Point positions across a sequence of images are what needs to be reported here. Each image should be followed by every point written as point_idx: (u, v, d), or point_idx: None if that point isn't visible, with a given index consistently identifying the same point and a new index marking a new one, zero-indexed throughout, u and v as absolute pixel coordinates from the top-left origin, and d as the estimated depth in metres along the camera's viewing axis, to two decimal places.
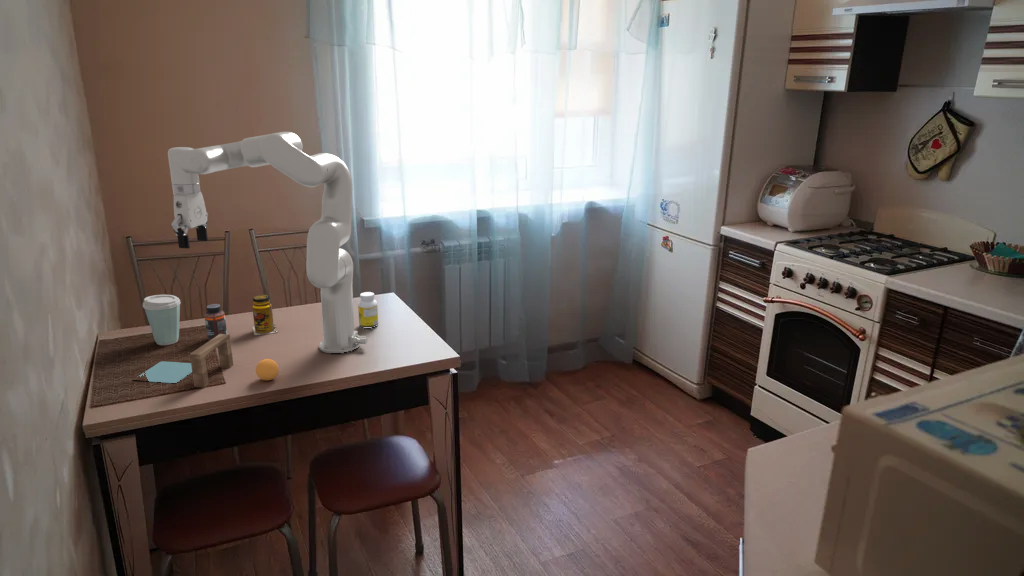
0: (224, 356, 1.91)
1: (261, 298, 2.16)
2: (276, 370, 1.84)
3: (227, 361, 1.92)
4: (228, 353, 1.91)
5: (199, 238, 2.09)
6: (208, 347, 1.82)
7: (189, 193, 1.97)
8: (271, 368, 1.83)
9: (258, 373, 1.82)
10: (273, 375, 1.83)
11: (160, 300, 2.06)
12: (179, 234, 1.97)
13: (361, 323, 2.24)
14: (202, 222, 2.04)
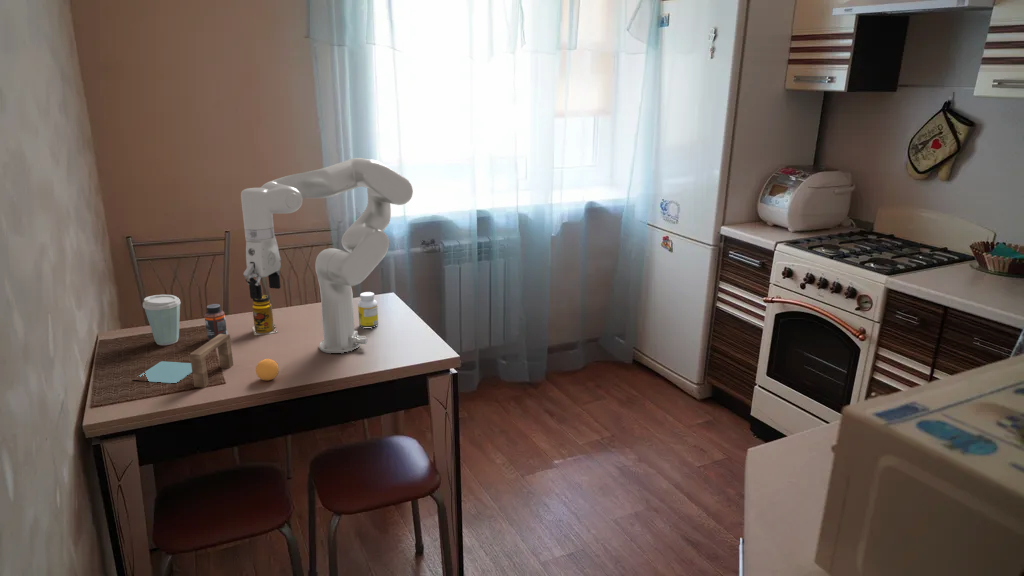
0: (224, 356, 1.91)
1: None
2: (276, 370, 1.84)
3: (227, 361, 1.92)
4: (228, 353, 1.91)
5: (271, 285, 1.90)
6: (208, 347, 1.82)
7: (263, 239, 1.78)
8: (271, 368, 1.83)
9: (258, 373, 1.82)
10: (273, 375, 1.83)
11: (160, 300, 2.06)
12: (251, 284, 1.79)
13: (361, 323, 2.24)
14: (275, 269, 1.85)
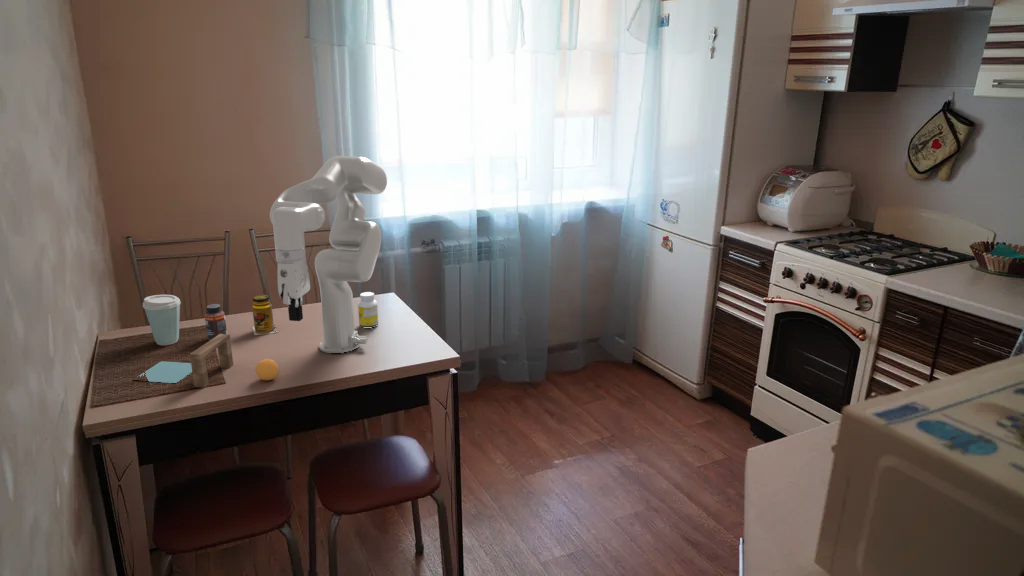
0: (224, 356, 1.91)
1: (261, 298, 2.16)
2: (276, 370, 1.84)
3: (227, 361, 1.92)
4: (228, 353, 1.91)
5: None
6: (208, 347, 1.82)
7: (295, 260, 1.72)
8: (271, 368, 1.83)
9: (258, 373, 1.82)
10: (273, 375, 1.83)
11: (160, 300, 2.06)
12: (291, 306, 1.76)
13: (361, 323, 2.24)
14: (306, 290, 1.78)
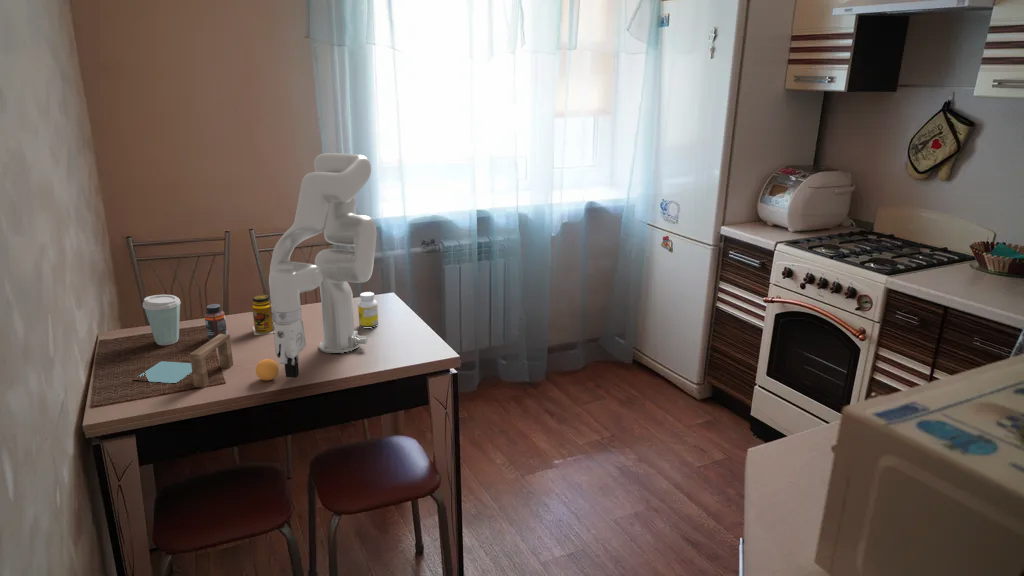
0: (224, 356, 1.91)
1: (261, 298, 2.16)
2: (276, 370, 1.84)
3: (227, 361, 1.92)
4: (228, 353, 1.91)
5: None
6: (208, 347, 1.82)
7: (292, 321, 1.77)
8: (271, 368, 1.83)
9: (258, 373, 1.82)
10: (273, 375, 1.83)
11: (160, 300, 2.06)
12: (288, 364, 1.82)
13: (361, 323, 2.24)
14: (302, 348, 1.84)
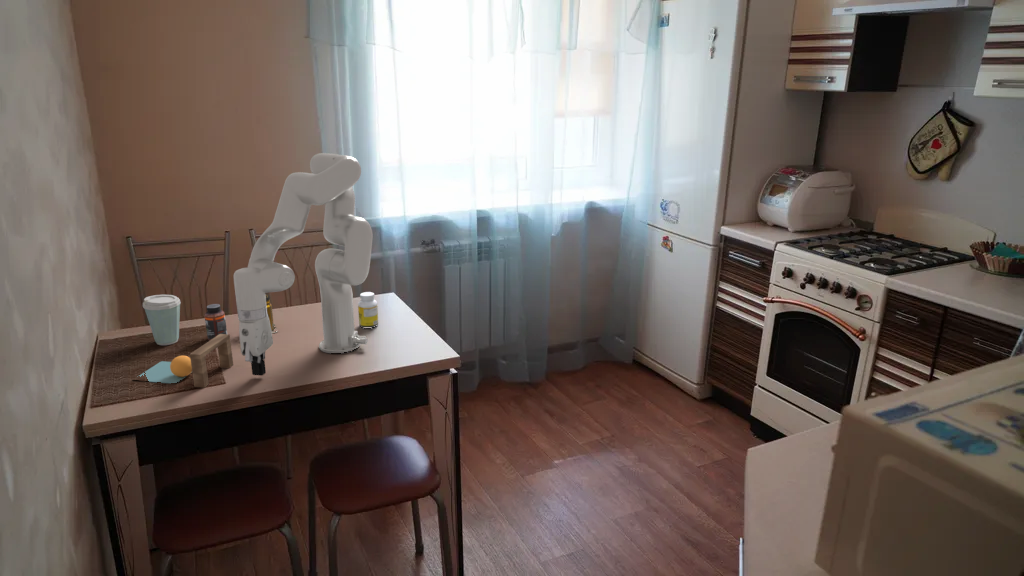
0: (224, 356, 1.91)
1: None
2: (178, 357, 1.84)
3: (227, 361, 1.92)
4: (228, 353, 1.91)
5: None
6: (208, 347, 1.82)
7: (256, 319, 1.78)
8: (172, 361, 1.84)
9: (178, 374, 1.84)
10: (180, 360, 1.84)
11: (160, 300, 2.06)
12: (253, 362, 1.83)
13: (361, 323, 2.24)
14: (268, 346, 1.85)
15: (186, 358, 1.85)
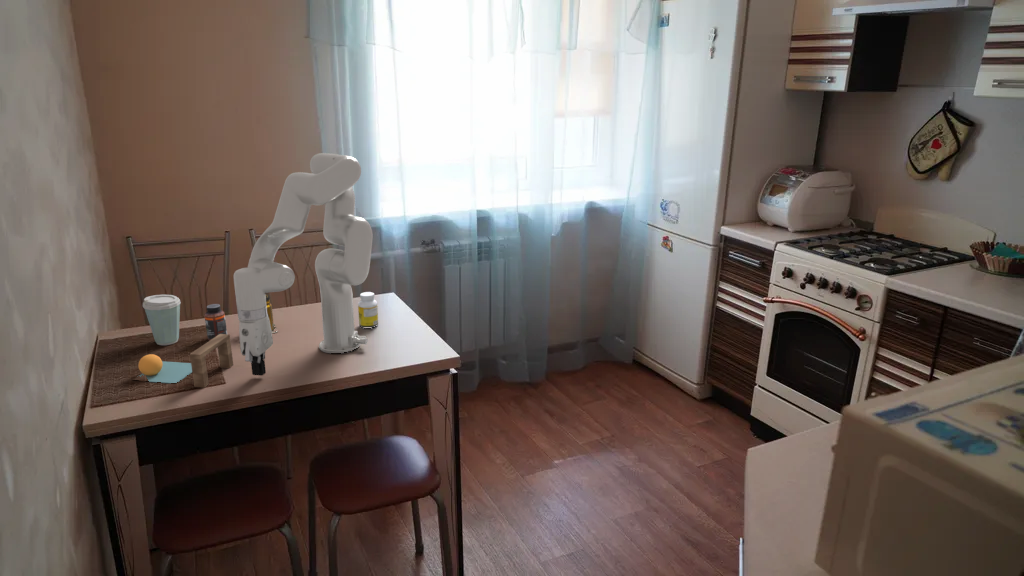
0: (224, 356, 1.91)
1: None
2: None
3: (227, 361, 1.92)
4: (228, 353, 1.91)
5: None
6: (208, 347, 1.82)
7: (256, 319, 1.78)
8: (152, 374, 1.85)
9: (144, 364, 1.84)
10: (144, 374, 1.86)
11: (160, 300, 2.06)
12: (253, 362, 1.83)
13: (361, 323, 2.24)
14: (268, 346, 1.85)
15: None
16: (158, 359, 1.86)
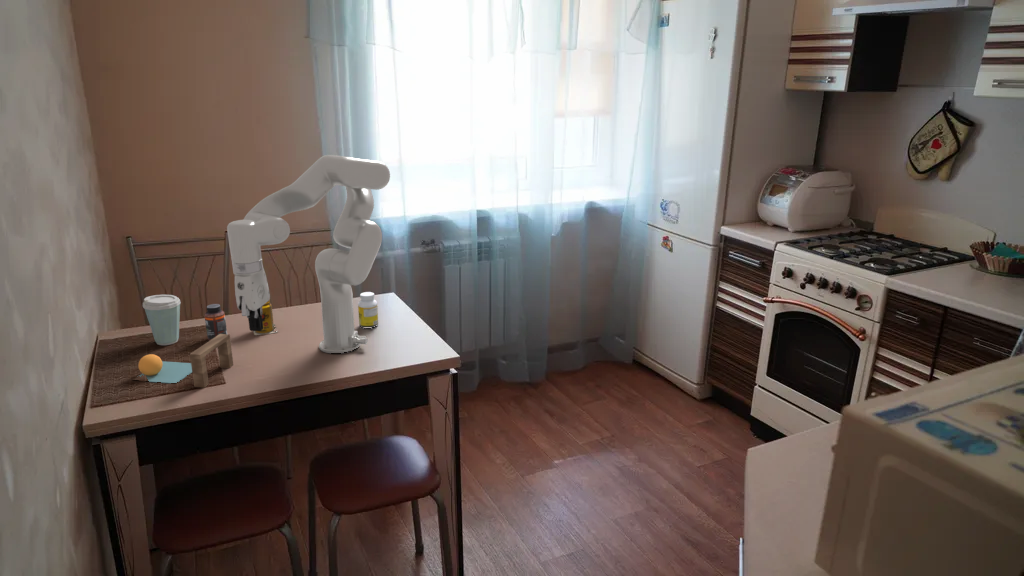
0: (224, 356, 1.91)
1: None
2: None
3: (227, 361, 1.92)
4: (228, 353, 1.91)
5: None
6: (208, 347, 1.82)
7: (252, 272, 1.74)
8: (152, 374, 1.85)
9: (144, 364, 1.84)
10: (144, 374, 1.86)
11: (160, 300, 2.06)
12: (250, 317, 1.80)
13: (361, 323, 2.24)
14: (265, 301, 1.81)
15: None
16: (158, 359, 1.86)
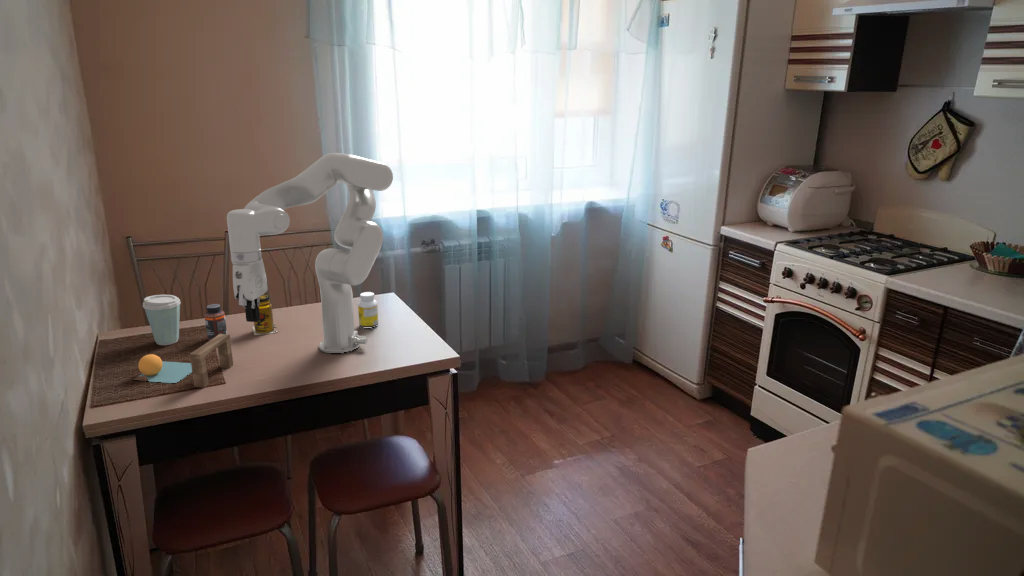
0: (224, 356, 1.91)
1: (261, 298, 2.16)
2: None
3: (227, 361, 1.92)
4: (228, 353, 1.91)
5: None
6: (208, 347, 1.82)
7: (250, 262, 1.73)
8: (152, 374, 1.85)
9: (144, 364, 1.84)
10: (144, 374, 1.86)
11: (160, 300, 2.06)
12: (247, 307, 1.78)
13: (361, 323, 2.24)
14: (262, 292, 1.80)
15: None
16: (158, 359, 1.86)
